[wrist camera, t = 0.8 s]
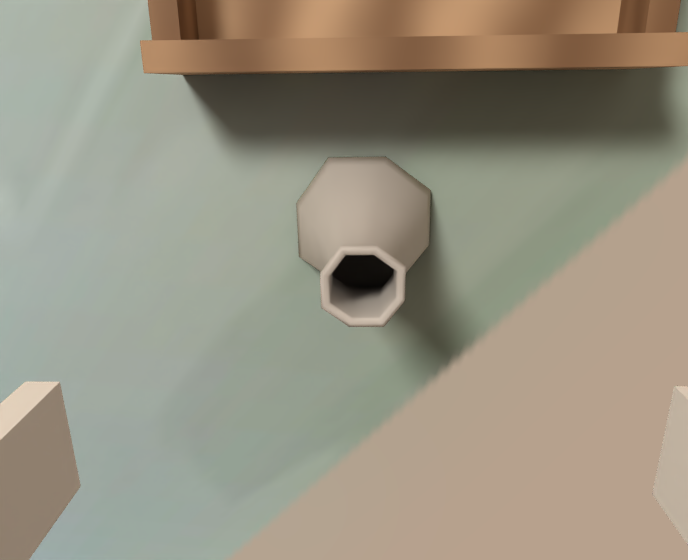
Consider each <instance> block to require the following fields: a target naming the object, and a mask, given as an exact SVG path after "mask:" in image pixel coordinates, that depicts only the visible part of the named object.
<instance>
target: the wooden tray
mask: <svg viewBox="0 0 688 560" xmlns="http://www.w3.org/2000/svg"><path fill="white" fill-rule="evenodd" d="M680 2H681V0H148V7H149V16H150V25H151V33H152V40H149V41H140V45H141V53H142V61H143V70H144V73H155V74H177V75H199V74H276V73H353V72H430V71H506V70H583V69H638V68H657V67H675V66H688V32H676V26H677V20H678V14H679V8H680Z"/></svg>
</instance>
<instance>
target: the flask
mask: <svg viewBox="0 0 688 560" xmlns="http://www.w3.org/2000/svg"><path fill="white" fill-rule="evenodd" d="M430 199H431V190H430V189H429V188H427V187H426V186H425V185H423V184H422V183H420V182H419V181H418V180H416V179H415V178H414V177H412V176H411V175H410V174H408V173H407V172H406V171H404V170H403V169H402V168H400V167H399V166H398V165H396V164H395V163H394V162H392V161H391V160H390V159H388V158H387V157H386V156H385V157H328V159H327V160H326V161H325V163H324V164H323V166H322V167H321V169H320V170H319V171H318V173H317V174H316V176H315V177H314V179H313V180H312V181H311V183H310V184H309V186H308V187H307V189H306V190H305V191H304V193H303V194H302V196H301V197H300V199H299V200H298V202H297V203H296V207H297V227H298V248H299V257H300V258H302V259H303V260H305V261H306V262H308V263H309V264H311V265H312V266H314V267H315V268H316V269H318V270H319V271H321V272H320V287H321V308H322V309H324V310H325V311H327V312H328V313H330V314H331V315H333V316H334V317H336V318H337V319H339V320H340V321H342V322H343V323H345V324H346V325H348V326H349V327H384V326H385V325H386V323H387V322H388V321H389V320H390V319H391V317H392V316H393V315H394V314H395V312H396V311H397V310H398V309H399V308H400V306H401V305H402V304H403V303H404V301H405V274H406V273H407V272H408V270H409V269H410V268H411V267H412V265H413V264H414V263H415V262H416V260H417V259H418V258H419V257H420V255H421V254H422V253H423V252H424V250H425V249H426V248H427V247H428V245H429V233H430Z"/></svg>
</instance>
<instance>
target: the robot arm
mask: <svg viewBox="0 0 688 560" xmlns="http://www.w3.org/2000/svg"><path fill="white" fill-rule="evenodd" d="M79 488H80V481H79V476H78V471H77V466H76V461H75V456H74V451H73V446H72V441H71V436H70V431H69V426H68V421H67V416H66V411H65V406H64V401H63V396H62V391H61V386H60V382H25V383H23V384H22V385H21V386H20V387H19V388H18V389H17V390H15V391H14V392H13V393H12V394H11V395H10V396H9V397H7V398H6V399H5V400H4V401H3V402H2V403H1V404H0V560H29V559H30V557H31V556H32V554H33V553H34V552H35V550H36V549H37V547H38V546H39V544H40V543H41V542H42V540H43V539H44V537H45V536H46V535H47V533H48V532H49V530H50V529H51V527H52V526H53V525H54V523H55V522H56V520H57V519H58V518H59V516H60V515H61V513H62V512H63V510H64V509H65V508H66V506H67V505H68V503H69V502H70V501H71V499H72V498H73V496H74V495H75V493H76V492H77V491H78V489H79ZM652 494H653V496H654V497H655V499H656V500H657V502H658V503H659V505H660V506H661V507H662V509H663V510H664V512H665V513H666V515H667V516H668V517H669V518H670V520H671V522H672V523H673V525H674V526H675V527H676V529H677V530H678V532H679V533H680V535H681V536H682V537H683V539H684V540H685V542H686V543H687V545H688V386H675V387H674V391H673V396H672V400H671V405H670V410H669V415H668V420H667V425H666V429H665V435H664V439H663V444H662V449H661V454H660V459H659V464H658V469H657V474H656V479H655V483H654V488H653V493H652Z"/></svg>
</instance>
